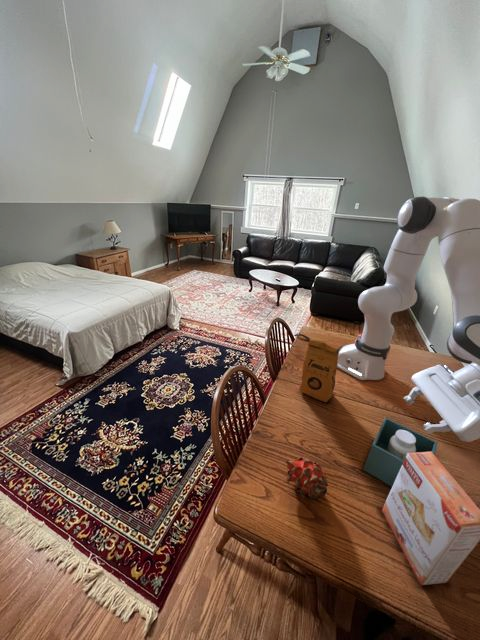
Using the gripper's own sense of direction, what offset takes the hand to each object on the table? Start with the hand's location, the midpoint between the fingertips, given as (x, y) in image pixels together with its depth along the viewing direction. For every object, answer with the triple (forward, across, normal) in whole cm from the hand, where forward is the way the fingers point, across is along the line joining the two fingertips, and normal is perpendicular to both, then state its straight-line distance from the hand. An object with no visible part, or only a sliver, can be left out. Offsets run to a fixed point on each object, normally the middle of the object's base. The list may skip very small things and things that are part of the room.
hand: (414, 414), depth 67 cm
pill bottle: (+13, 0, +14) cm, 19 cm away
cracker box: (+17, +19, +11) cm, 28 cm away
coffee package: (+26, -30, +3) cm, 39 cm away
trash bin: (+14, 0, +14) cm, 20 cm away
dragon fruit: (+33, +8, -4) cm, 34 cm away
